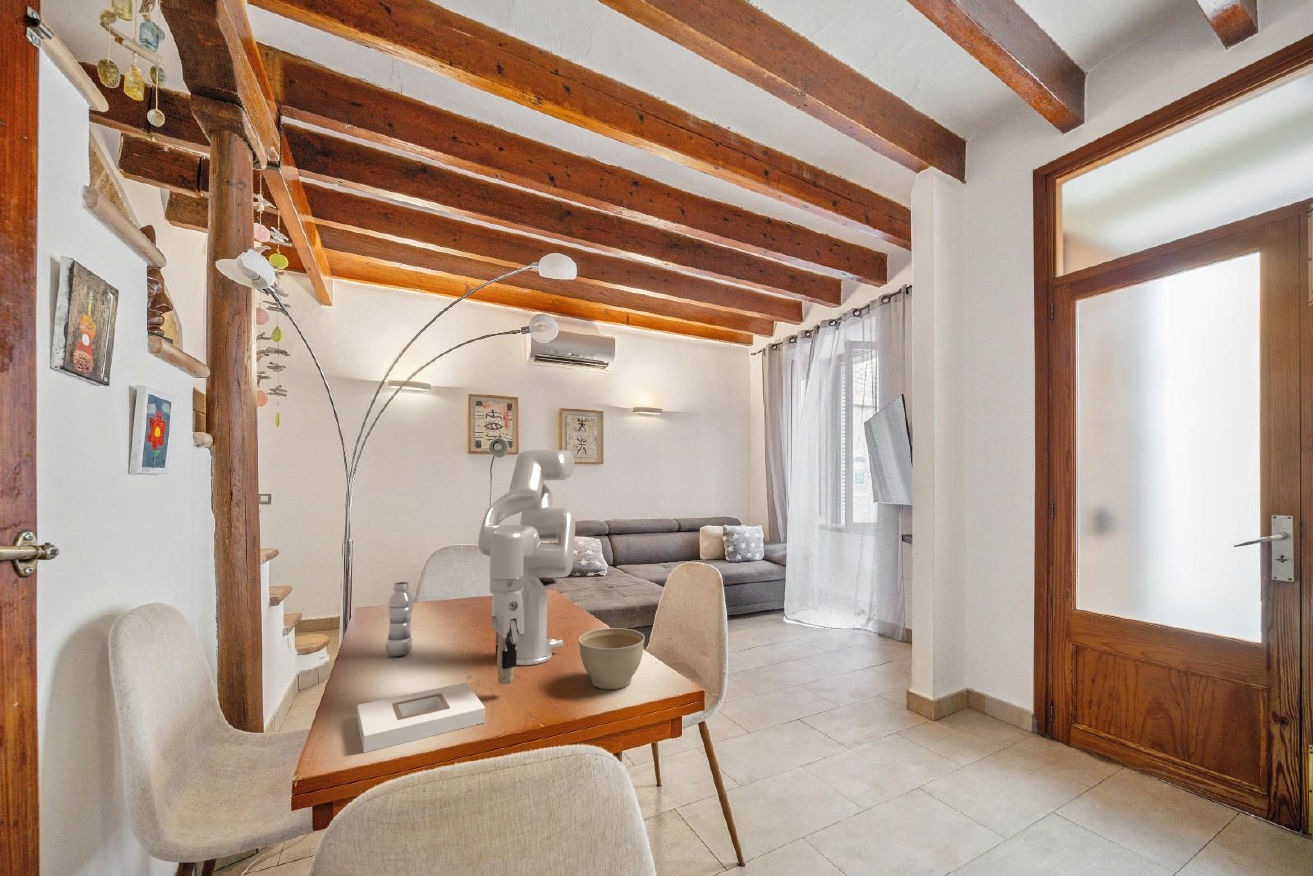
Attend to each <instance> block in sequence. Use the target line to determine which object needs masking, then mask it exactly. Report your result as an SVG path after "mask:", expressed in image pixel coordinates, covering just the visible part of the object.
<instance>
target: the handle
mask: <svg viewBox="0 0 1313 876" xmlns="http://www.w3.org/2000/svg"><path fill="white" fill-rule="evenodd" d="M492 624H494V625H496V626H498V622H497V619H496V618H495V617H494V616H493V617H492V616H491V625H492ZM507 636H511V635H510V634H507ZM510 640H511V639H508V640H507V643H508V641H510ZM502 651H504V649H503V637H501V636H500V635H498V650H497V662H496V670H497V675H498V677H497V681H498V684H501V685H502V686H503V685H504V686H505V685H508V684H509V685H510V684H512V682H513V681H514V673H515V672H514V671H515V667H512V668H507V669H503V668H502Z"/></svg>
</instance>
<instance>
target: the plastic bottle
mask: <svg viewBox="0 0 1313 876" xmlns="http://www.w3.org/2000/svg"><path fill="white" fill-rule="evenodd" d="M409 584H410V583H409V581H407V582H406V581H400V582H399V581H398V582H395V583H394V584H393V591H394V592H393V594H392V595H391V596H390V598H389V599H388V602H387V606H388V615H389V621H388V622H389V629H388V636H387V641H386V645H385V650H386V651H385V652H386V654H387V655H388V656H389V657H402V656H405V655H407V654H410V652H411V650H412V648H413V646H412V645H413V641H412V640H413V638H412V633H411V632H412V630H411V629H412V628H411V620H412V613H413V609H414V608H413V607H414V601H415V600H414V598H413V596H412V594H410V592H409V590H410V588H409Z"/></svg>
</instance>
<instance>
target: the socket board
mask: <svg viewBox="0 0 1313 876" xmlns="http://www.w3.org/2000/svg"><path fill="white" fill-rule="evenodd" d="M356 709H357V710H356V711H357V712H356V713H357V714H356V722H357V726H358V727H357V728H358V731H359V736H360V737H359V738H360V743H361V747H362V751H363V754H366V753H368V752H373V751H377V750H381V749H385V748H389V747H393V746H397V745H402V744H406V743H411V742H414V741H417V740H422V739H425V737H426V738H429V737H434V736H438V735H437V734H439V735H441V733H443V734H446V733H445V732H447V733H451V732H454V731H458V729H459V730H462V728H463V729H467V728H471V727H475V726H478V725H477V724H479V725H482V724H481V723H483V724H486V707H485V705H484V704H483V703H482V701H481V700H480V699H479V697H478V696H477V695H476V693H475V692H474V691H473V689H472V688H471V687H470V686H469V684H468V683H467V682H463V683H458V684H452V685H449V686H443V687H438V688H437V687H436V688H433V689H429V690H428V689H427V690H424V691H423V690H422V691H418V692H414V693H409V694H403V695H399V696H398V695H397V696H393V697H390V698H389V697H388V698H384V699H379V700H374V701H370V702H369V701H368V702H363V703H358V704H357V708H356ZM433 735H434V736H433ZM421 738H422V739H421ZM405 742H406V743H405Z"/></svg>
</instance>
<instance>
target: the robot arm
mask: <svg viewBox="0 0 1313 876" xmlns="http://www.w3.org/2000/svg"><path fill="white" fill-rule="evenodd" d="M574 469H575V458H574V455H573V453H572V452H571V450H568V449H532V450H531V449H530V450H525V451H521V452H520V453H518V455H517V456H516V461H515V466H514V469H513V472H512V478H511V482H510V486H509V489H508V492H506V493H505V494H503V495H502V496H501V497H499V498H498V499H497V500H496V501H495V502H493V503H492V505H491V506H490V507H489V508H488V509H487V511H485V514H484V516H483V520H482V523H481V527H480V530H479V534H478V535H479V536H478V548H479V551H480V552H481V554H483V555H484V556H487V557H489V593H490V594H492V600H491V618H492V617H493V616H494V617H495V618H496V619H497V622H498V626H496V625H494V624H492V623H491V625H492V626H491V628H492V629H493V630H494V631H495V662H496V663H497V650H498V635H500V636H501V637H503V649H504V651H502V668H503V669H507V668H512V667H514V668H516V666H531V665H538V664H542V663H545V662H547V661H549V660H550V659H551V658H552V656H553V651H552V650H553V649H554V648H561V647H563V646H564V641H563V639H555V638H551V639H548V638H547V632H548V631H547V629H548V628H547V626H548V624H547V619H548V593H547V589H546V588H545V587H546V586H544V584H543V582H541V580H540V579H542V578H565V577H568V576H569V575H570V574H571V573H572V570H573V566H574V555H575V554H574V553H575V539H576V518H575V514H574V512H573V511H572V510H570V508H569V509H568V508H563V507H562V508H557V507H556V508H555V507H553V508H552V506H553V493H552V491H551V490H550V489H549V487H548V486H547V485H546V484H545V483H544V481H565V480H567V479H569V478H570V477H571V476H572V475H573V473H574ZM520 513H521V515H520V521H519V522H520V523H519V525H517V524H513V525H512V524H510V525H507V524H500V523H502V522H503V521H505V520H506V519H507V518H510V517H511V516H515V515H517V514H520ZM507 634H510V635H511V636H507ZM508 639H511V640H510V641H508V643H507V640H508Z"/></svg>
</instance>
